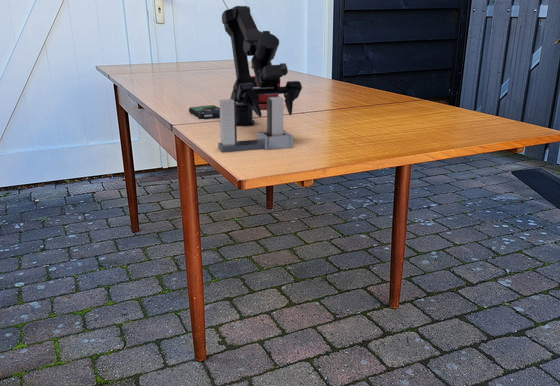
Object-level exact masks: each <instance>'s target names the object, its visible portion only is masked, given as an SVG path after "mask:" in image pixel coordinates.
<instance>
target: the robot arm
mask: <svg viewBox="0 0 560 386" xmlns="http://www.w3.org/2000/svg"><path fill="white" fill-rule="evenodd" d="M221 23H222V25H223V26H224V31H225V33H227V35H228V36H229V37H230V41H231V50H232V56H233V63H234V69H235V76H236V77H235V80H234V81H235V82H234V83H233V87H232V92H231V94H230V95H231V96H230V98H229V99H232V100H234V101H235V102H236V126H254V123H255V120H254V117H253V114H256V115H257V117H259V118H261V117H262V111H261V110H262V109H260V107H259V104H258V102H259V94H265V95H271V94H279V95H283V99H284V103H285V107H286V110H287V112H288V115H289V116H292V115H293V106H294V101H295V100H297V99H298V98H299V96H300V94H301V91H302V90H303V85H302V83H301V82H300V81H299V80H290V81H286V84H285V86H280V87H278V84H279V83H280V84H281V78H282V77H285V76H287V75H288V72H289V70H288V65H287V63H286V62H285V63H283V62H282V63H279V64H272V60H274V59H275V56H276V53H277V51H278V47H279V45H280V39H279V38H278V36H276V35H275V34H272V33H271V32H270V30H263V31H260V30H259V29H258V27H257V24H256V22H255V20H254V18H253V15H252V14H251V9H250V6H247V5H235V6H233V7H232V8H229V9H225V10H224V11H223V12H222V14H221ZM248 57H252V58H251V61H250V62H251V69H252V70H253V73H254V76H255V77H256V79H255V78H252V77H251V76H252V75H251V74H250V67H249V61H248ZM256 83H257V85H258V87H257V85H256ZM253 112H254V113H253Z"/></svg>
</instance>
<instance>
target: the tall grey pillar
mask: <svg viewBox="0 0 560 386" xmlns="http://www.w3.org/2000/svg"><path fill="white" fill-rule="evenodd" d="M283 130H284V97H281V96H280V95H278V97H269V99H267V109H266V131H267V136H281V135H283Z"/></svg>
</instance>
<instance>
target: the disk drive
mask: <svg viewBox="0 0 560 386" xmlns="http://www.w3.org/2000/svg"><path fill="white" fill-rule="evenodd" d="M189 112H190V113H192V114H193V115H192V114H191V115H192V116H194V115H195V116H197V117H198V118H197V117H196V118H197V119H199V120H200V119H204V120H213V119H220V106H219V107H218V106H217V105H213V104H212V105H201V106H190V107H189V108H188V113H189ZM190 113H189V114H190ZM195 116H194V117H195Z"/></svg>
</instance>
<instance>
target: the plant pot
mask: <svg viewBox="0 0 560 386" xmlns="http://www.w3.org/2000/svg"><path fill="white" fill-rule="evenodd" d="M250 76H251V77H252V78H255V79H256V77H255V75H250ZM256 85H257V83H256ZM257 87H258V85H257ZM278 87H281V82H280V83H279V84H278ZM279 96H280V94H271V95H265V94H259V102H258V104H259V107H260V110H264V109H265V110H267V99H269V97H279Z"/></svg>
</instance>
